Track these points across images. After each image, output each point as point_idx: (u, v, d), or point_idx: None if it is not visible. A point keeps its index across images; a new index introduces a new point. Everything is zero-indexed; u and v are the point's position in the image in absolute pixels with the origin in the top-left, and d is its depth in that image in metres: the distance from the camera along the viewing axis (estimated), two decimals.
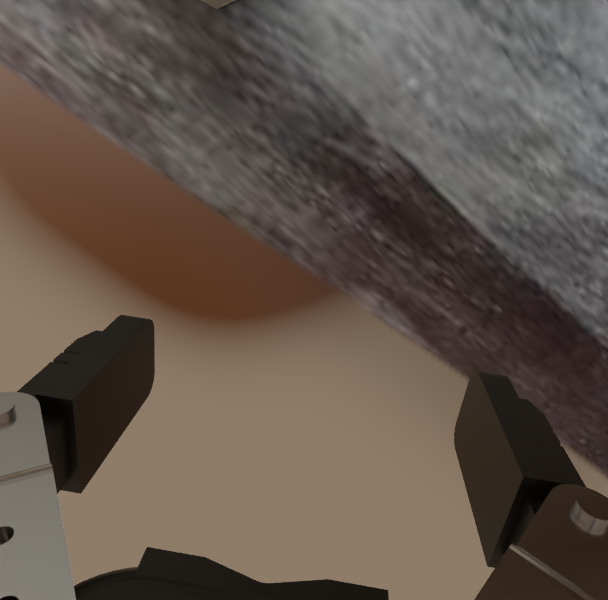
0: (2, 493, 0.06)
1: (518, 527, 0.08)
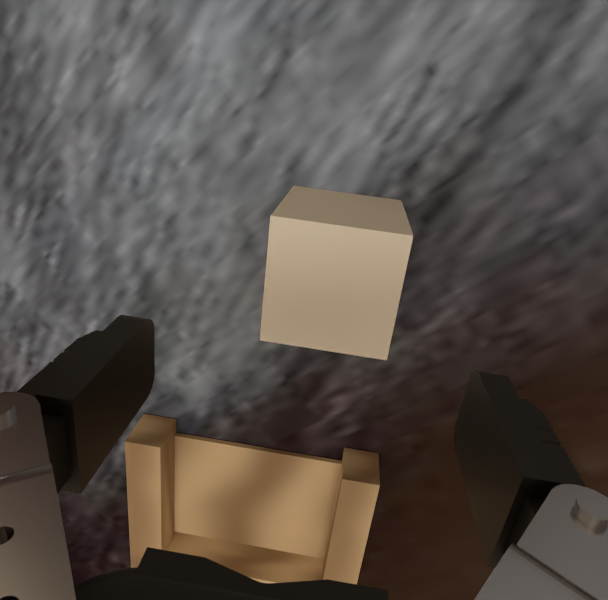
0: (2, 493, 0.06)
1: (518, 527, 0.08)
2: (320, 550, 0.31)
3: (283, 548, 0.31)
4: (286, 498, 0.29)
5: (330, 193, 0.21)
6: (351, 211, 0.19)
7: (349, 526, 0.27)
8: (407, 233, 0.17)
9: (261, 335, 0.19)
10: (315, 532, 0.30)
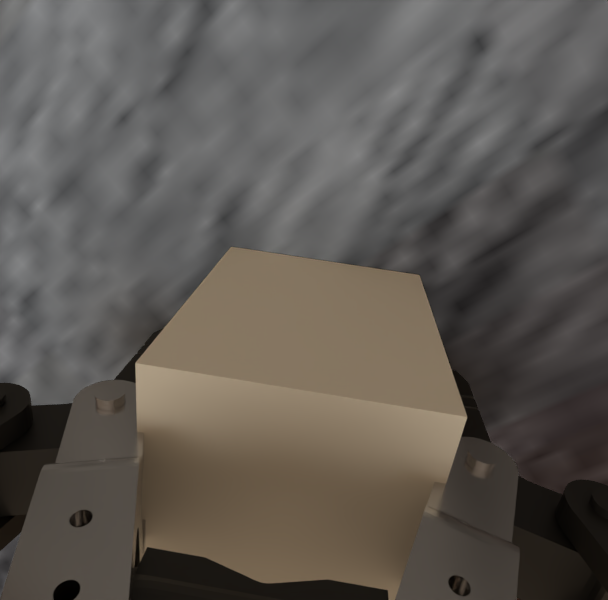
0: (92, 477, 0.06)
1: None
2: None
3: None
4: None
5: (293, 265, 0.12)
6: (327, 323, 0.09)
7: None
8: (452, 406, 0.07)
9: None
10: None
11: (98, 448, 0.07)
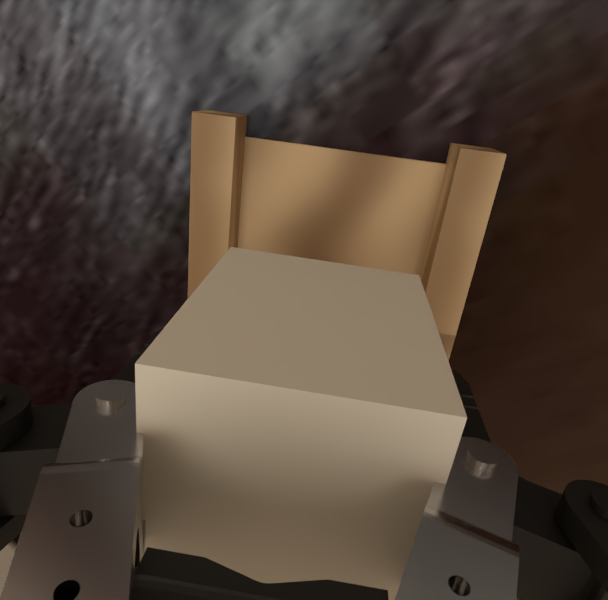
0: (92, 477, 0.06)
1: None
2: None
3: None
4: (374, 223, 0.25)
5: (293, 265, 0.12)
6: (327, 323, 0.09)
7: (461, 224, 0.22)
8: (452, 406, 0.07)
9: None
10: None
11: (98, 448, 0.07)
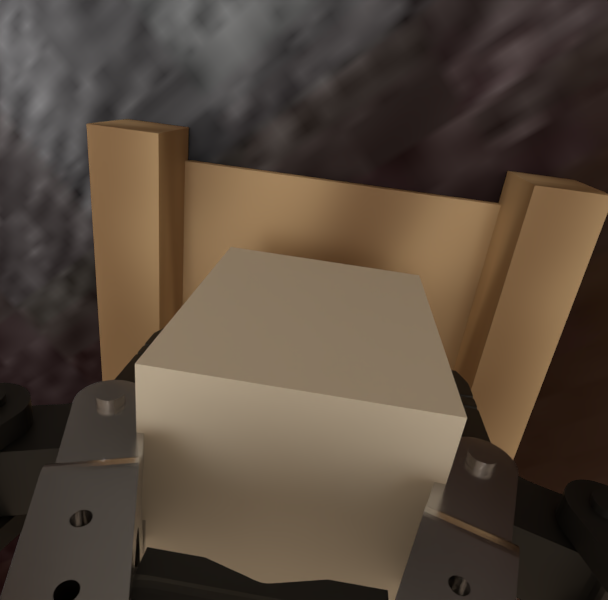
0: (92, 477, 0.06)
1: None
2: None
3: None
4: None
5: (293, 265, 0.12)
6: (327, 323, 0.09)
7: (529, 305, 0.14)
8: (452, 407, 0.07)
9: None
10: None
11: (98, 448, 0.07)
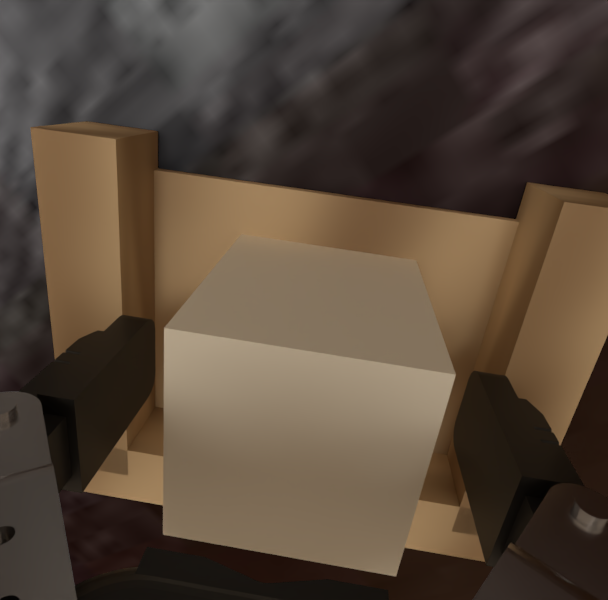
0: (4, 492, 0.06)
1: (517, 526, 0.08)
2: (443, 436, 0.16)
3: None
4: None
5: (299, 250, 0.13)
6: (332, 298, 0.10)
7: (554, 341, 0.12)
8: (442, 366, 0.08)
9: (165, 527, 0.10)
10: None
11: None
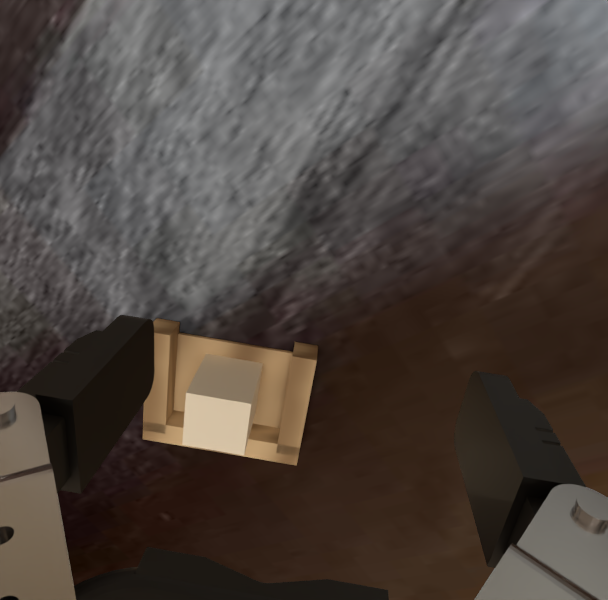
0: (2, 493, 0.06)
1: (518, 527, 0.08)
2: (278, 421, 0.44)
3: None
4: None
5: (224, 361, 0.41)
6: (229, 381, 0.38)
7: (296, 392, 0.40)
8: (249, 401, 0.36)
9: (183, 442, 0.38)
10: (274, 407, 0.43)
11: None
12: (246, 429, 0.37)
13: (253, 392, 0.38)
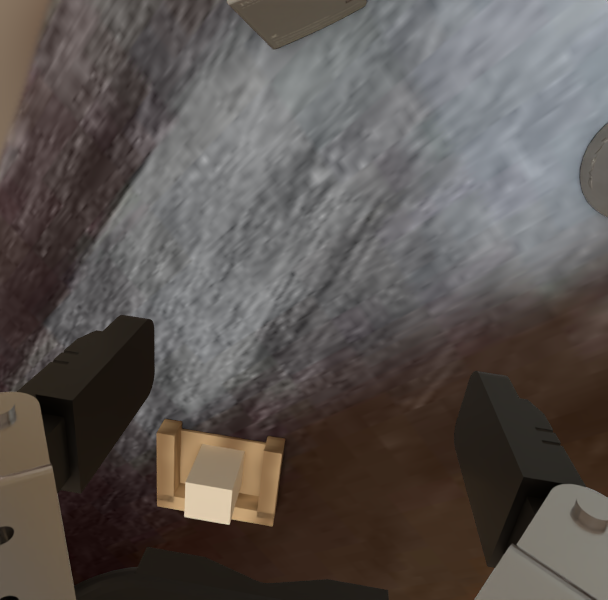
0: (2, 493, 0.06)
1: (519, 526, 0.08)
2: (258, 491, 0.58)
3: (239, 491, 0.58)
4: None
5: (215, 450, 0.55)
6: (217, 470, 0.52)
7: (268, 475, 0.54)
8: (231, 488, 0.50)
9: (184, 515, 0.52)
10: (255, 481, 0.57)
11: None
12: (229, 507, 0.51)
13: (234, 479, 0.51)
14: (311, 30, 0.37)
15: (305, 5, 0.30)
